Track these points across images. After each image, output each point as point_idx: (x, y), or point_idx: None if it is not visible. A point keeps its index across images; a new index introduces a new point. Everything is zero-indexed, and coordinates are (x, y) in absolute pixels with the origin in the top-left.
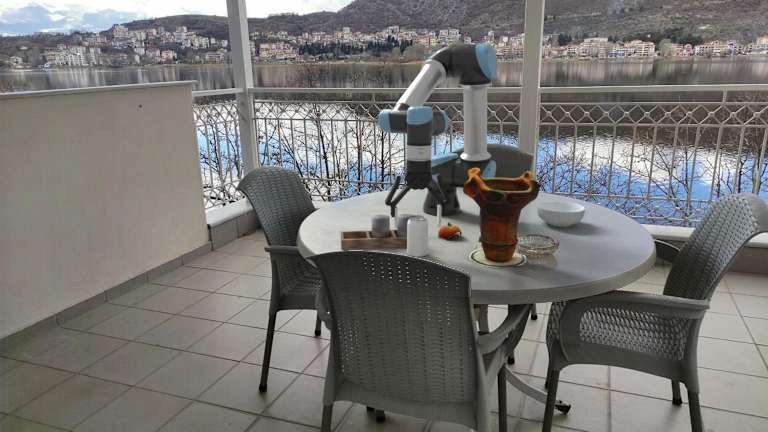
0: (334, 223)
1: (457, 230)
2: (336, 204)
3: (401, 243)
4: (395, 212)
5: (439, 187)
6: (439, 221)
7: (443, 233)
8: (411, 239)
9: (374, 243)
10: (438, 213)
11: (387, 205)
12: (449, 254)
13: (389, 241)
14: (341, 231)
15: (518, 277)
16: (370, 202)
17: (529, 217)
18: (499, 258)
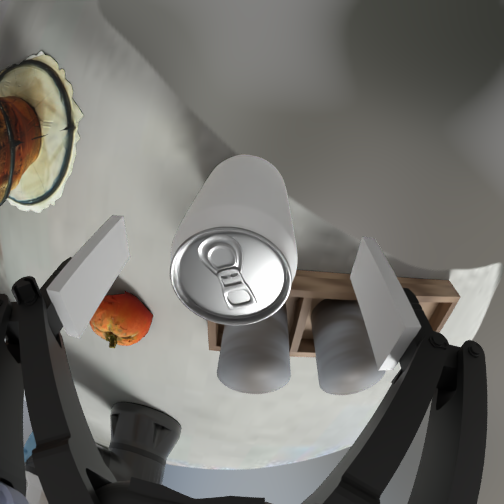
0: (376, 405)
1: None
2: (328, 452)
3: None
4: (406, 301)
5: (6, 432)
6: (104, 231)
7: (133, 311)
8: (280, 191)
9: None
10: (88, 271)
11: (468, 341)
12: (131, 170)
13: (328, 284)
14: None
15: (19, 6)
16: (270, 456)
17: None
18: (12, 96)
